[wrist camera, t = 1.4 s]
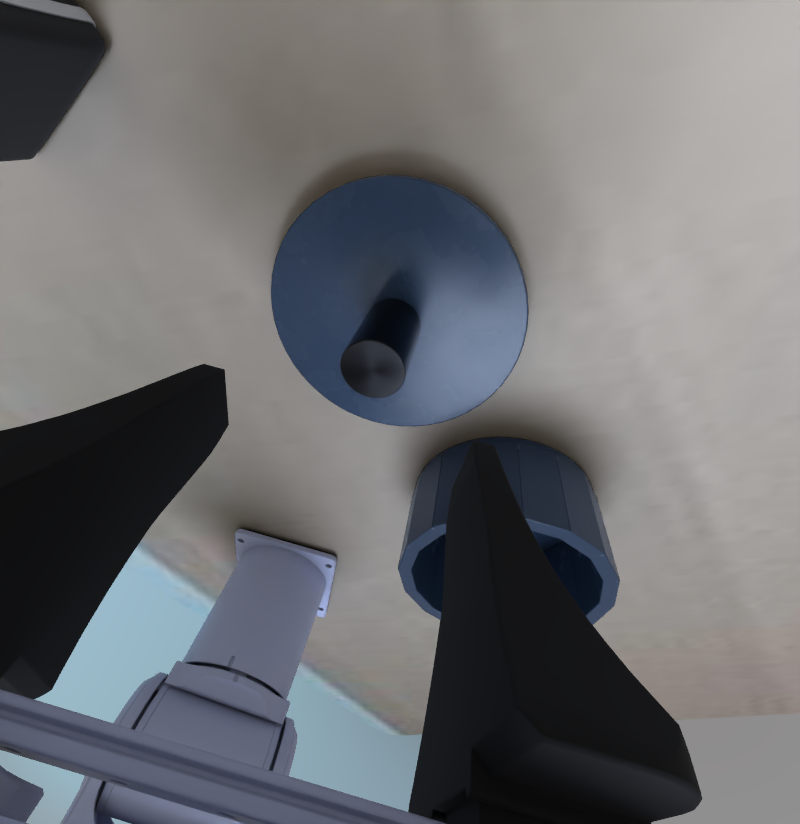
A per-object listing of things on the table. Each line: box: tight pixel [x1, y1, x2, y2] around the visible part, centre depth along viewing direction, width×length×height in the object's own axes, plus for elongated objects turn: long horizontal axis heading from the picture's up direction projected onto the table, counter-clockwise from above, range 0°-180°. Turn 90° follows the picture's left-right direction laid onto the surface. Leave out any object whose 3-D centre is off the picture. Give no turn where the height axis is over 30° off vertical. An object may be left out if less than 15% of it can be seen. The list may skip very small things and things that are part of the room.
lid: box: [271, 175, 528, 426], centre depth 16 cm, size 11×11×5 cm
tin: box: [398, 437, 620, 625], centre depth 22 cm, size 10×10×5 cm
